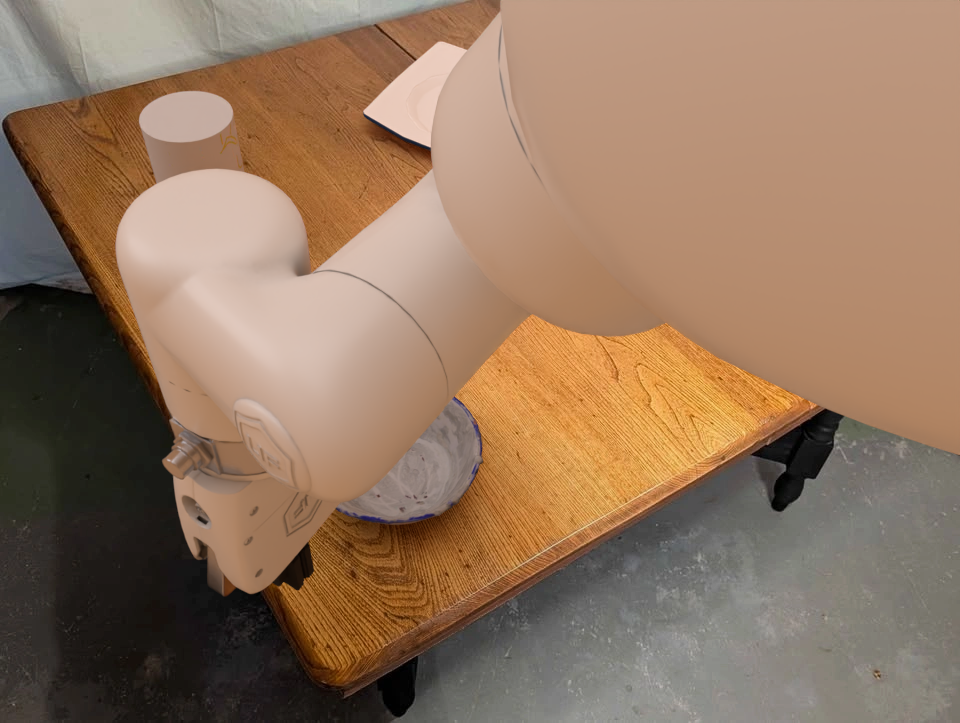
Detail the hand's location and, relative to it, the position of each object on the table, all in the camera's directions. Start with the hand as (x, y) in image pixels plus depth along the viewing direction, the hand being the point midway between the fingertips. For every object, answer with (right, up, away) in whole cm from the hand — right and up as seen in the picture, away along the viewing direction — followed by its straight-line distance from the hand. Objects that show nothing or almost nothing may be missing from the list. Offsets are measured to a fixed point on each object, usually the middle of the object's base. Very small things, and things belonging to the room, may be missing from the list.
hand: (288, 570), depth 56 cm
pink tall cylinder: (-14, +28, +29) cm, 43 cm away
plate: (+12, +42, +43) cm, 62 cm away
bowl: (+6, +4, +10) cm, 13 cm away
